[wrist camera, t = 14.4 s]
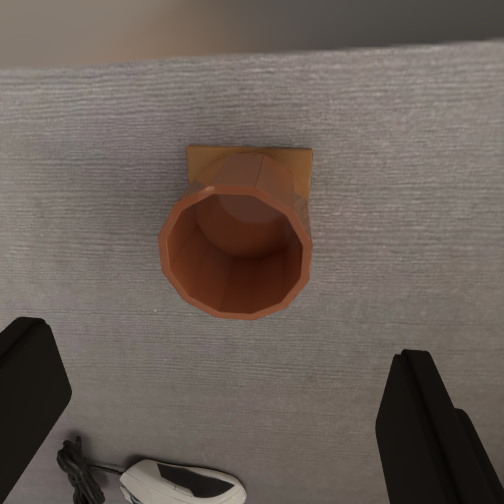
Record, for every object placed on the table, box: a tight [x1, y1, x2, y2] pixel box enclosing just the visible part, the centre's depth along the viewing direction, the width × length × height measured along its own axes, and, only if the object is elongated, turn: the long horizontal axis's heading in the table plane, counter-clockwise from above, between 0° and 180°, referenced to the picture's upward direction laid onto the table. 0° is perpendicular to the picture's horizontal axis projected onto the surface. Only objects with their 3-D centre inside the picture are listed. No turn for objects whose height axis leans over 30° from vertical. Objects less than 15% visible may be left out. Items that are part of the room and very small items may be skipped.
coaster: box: [186, 145, 313, 203], centre depth 21 cm, size 7×7×1 cm
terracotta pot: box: [158, 152, 312, 320], centre depth 19 cm, size 7×7×6 cm
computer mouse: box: [56, 436, 246, 504], centre depth 35 cm, size 10×18×4 cm, turn 82°
